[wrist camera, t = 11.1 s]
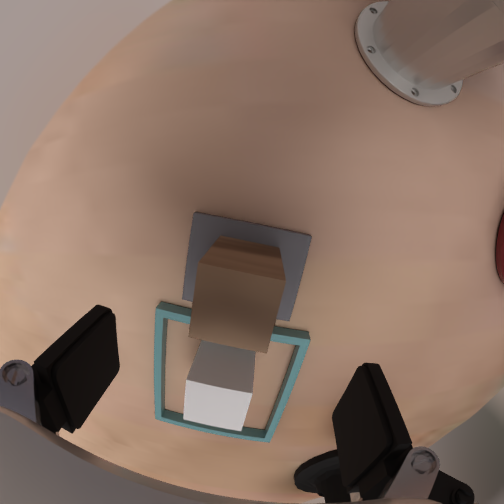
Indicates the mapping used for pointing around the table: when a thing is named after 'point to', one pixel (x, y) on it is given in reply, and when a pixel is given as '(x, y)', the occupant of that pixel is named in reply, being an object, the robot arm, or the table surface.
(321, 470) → the microphone
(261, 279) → the walnut block
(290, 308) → the mat
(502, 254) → the canister
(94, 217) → the table surface
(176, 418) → the tray
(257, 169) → the table surface
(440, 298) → the table surface
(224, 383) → the grey block
